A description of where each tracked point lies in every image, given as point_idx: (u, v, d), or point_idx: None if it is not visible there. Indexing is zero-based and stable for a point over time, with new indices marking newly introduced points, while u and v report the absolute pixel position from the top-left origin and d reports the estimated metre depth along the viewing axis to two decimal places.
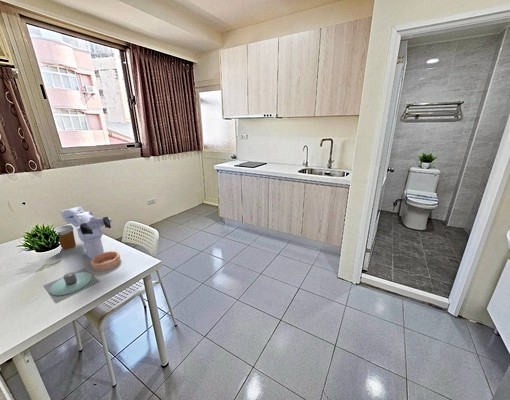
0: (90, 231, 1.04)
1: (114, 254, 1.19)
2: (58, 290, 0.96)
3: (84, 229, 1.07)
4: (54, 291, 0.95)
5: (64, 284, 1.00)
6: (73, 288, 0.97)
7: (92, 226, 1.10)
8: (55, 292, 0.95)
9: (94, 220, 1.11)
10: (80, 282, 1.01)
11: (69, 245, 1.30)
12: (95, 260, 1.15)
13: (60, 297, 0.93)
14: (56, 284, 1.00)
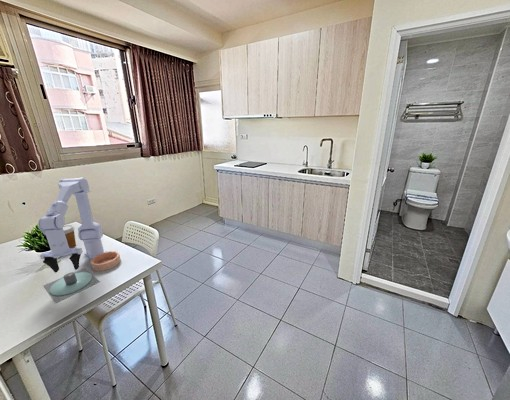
0: (55, 271, 0.97)
1: (114, 254, 1.19)
2: (58, 290, 0.96)
3: None
4: (54, 291, 0.95)
5: (64, 284, 1.00)
6: (73, 288, 0.97)
7: None
8: (55, 292, 0.95)
9: None
10: (80, 282, 1.01)
11: (70, 245, 1.30)
12: (95, 260, 1.15)
13: (60, 297, 0.93)
14: (56, 284, 1.00)
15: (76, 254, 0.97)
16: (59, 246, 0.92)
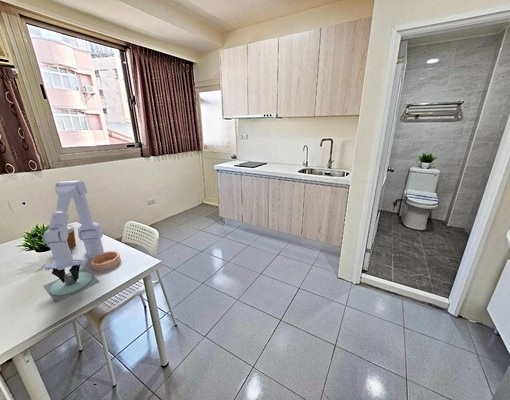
0: (63, 282, 0.99)
1: (114, 254, 1.19)
2: (58, 290, 0.96)
3: None
4: (54, 291, 0.95)
5: (64, 284, 1.00)
6: (73, 288, 0.97)
7: None
8: (55, 292, 0.95)
9: None
10: (80, 282, 1.01)
11: (70, 245, 1.30)
12: (95, 260, 1.15)
13: (60, 297, 0.93)
14: (56, 284, 1.00)
15: (76, 266, 0.98)
16: (63, 258, 0.94)
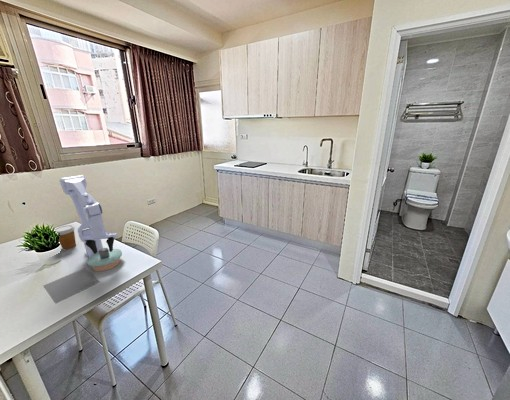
0: None
1: None
2: (94, 262, 1.09)
3: None
4: (91, 263, 1.09)
5: (98, 257, 1.13)
6: (108, 260, 1.10)
7: None
8: (92, 263, 1.08)
9: None
10: (112, 256, 1.14)
11: (70, 245, 1.30)
12: None
13: (60, 297, 0.93)
14: (92, 257, 1.13)
15: (111, 238, 1.11)
16: (99, 230, 1.07)
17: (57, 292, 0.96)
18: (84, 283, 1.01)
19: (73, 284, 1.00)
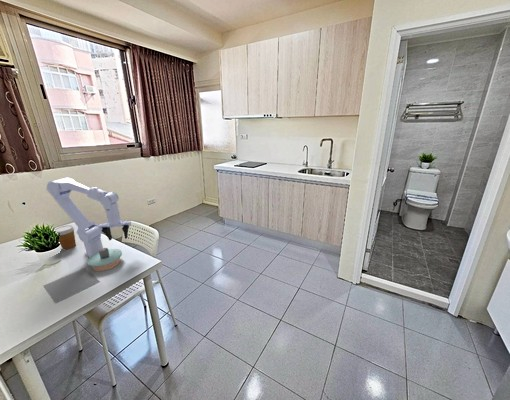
0: None
1: None
2: (94, 262, 1.09)
3: None
4: (91, 263, 1.09)
5: (98, 257, 1.13)
6: (108, 260, 1.10)
7: None
8: (92, 263, 1.08)
9: None
10: (112, 256, 1.14)
11: (70, 245, 1.30)
12: None
13: (60, 297, 0.93)
14: (92, 257, 1.13)
15: (127, 225, 1.19)
16: (115, 218, 1.15)
17: (57, 292, 0.96)
18: (84, 283, 1.01)
19: (73, 284, 1.00)
